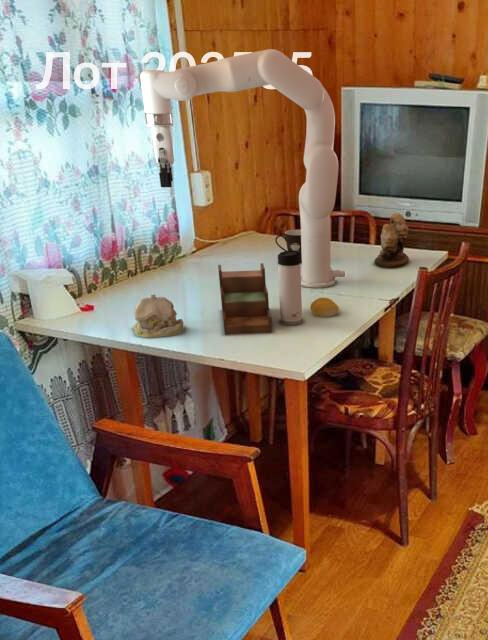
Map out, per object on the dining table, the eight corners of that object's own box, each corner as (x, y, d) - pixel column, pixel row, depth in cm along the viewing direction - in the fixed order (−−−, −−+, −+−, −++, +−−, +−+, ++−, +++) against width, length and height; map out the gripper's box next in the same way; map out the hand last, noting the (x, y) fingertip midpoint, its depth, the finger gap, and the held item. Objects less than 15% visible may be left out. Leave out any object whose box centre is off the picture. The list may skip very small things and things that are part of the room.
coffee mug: (314, 260, 271) (313, 231, 265) (300, 265, 264) (299, 236, 259) (289, 255, 276) (288, 227, 270) (274, 260, 270) (273, 231, 264)
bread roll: (316, 318, 217) (316, 305, 214) (307, 309, 224) (307, 296, 221) (343, 316, 219) (343, 302, 217) (333, 306, 226) (333, 293, 224)
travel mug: (299, 326, 211) (297, 254, 200) (277, 324, 212) (274, 252, 201) (305, 319, 216) (304, 248, 205) (284, 317, 217) (281, 247, 206)
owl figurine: (383, 254, 279) (384, 206, 270) (413, 257, 276) (416, 209, 267) (369, 266, 265) (370, 216, 255) (401, 270, 262) (403, 219, 252)
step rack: (265, 308, 223) (263, 263, 216) (271, 332, 206) (269, 283, 199) (222, 310, 221) (218, 264, 214) (224, 334, 204) (220, 285, 196)
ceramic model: (130, 338, 200) (124, 302, 194) (134, 324, 209) (128, 289, 204) (183, 336, 202) (179, 300, 197) (185, 322, 211) (180, 287, 206)
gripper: (171, 123, 206) (179, 189, 216) (173, 117, 220) (180, 179, 230) (144, 123, 205) (152, 189, 214) (147, 117, 219) (155, 179, 228)
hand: (166, 184), depth 222 cm, fingers open, 9 cm apart
